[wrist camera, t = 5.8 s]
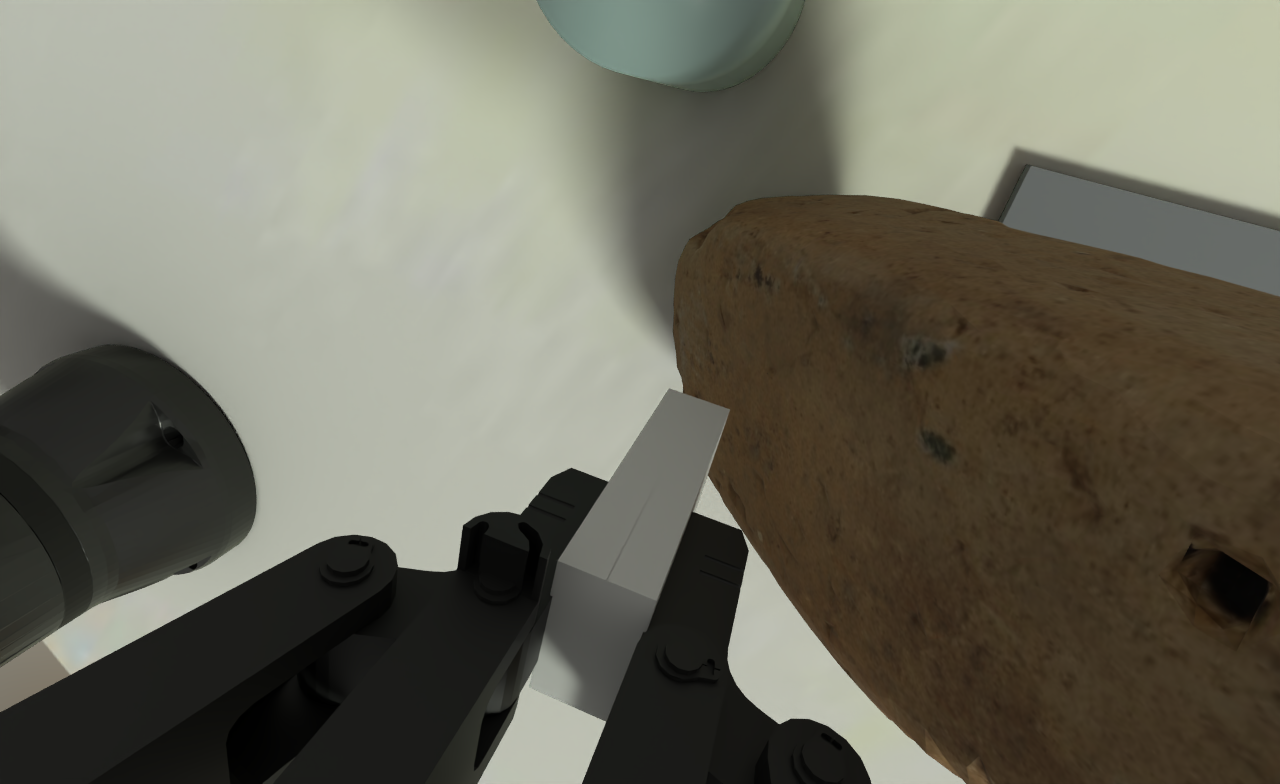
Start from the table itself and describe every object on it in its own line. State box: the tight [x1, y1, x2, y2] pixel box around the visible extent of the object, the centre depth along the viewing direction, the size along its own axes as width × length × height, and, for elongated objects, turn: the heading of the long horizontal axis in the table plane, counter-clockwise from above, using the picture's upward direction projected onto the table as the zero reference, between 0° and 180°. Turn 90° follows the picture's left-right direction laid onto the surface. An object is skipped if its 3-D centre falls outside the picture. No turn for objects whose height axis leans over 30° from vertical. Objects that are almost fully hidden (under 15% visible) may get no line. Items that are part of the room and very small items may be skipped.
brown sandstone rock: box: [673, 195, 1280, 784], centre depth 16 cm, size 11×8×20 cm
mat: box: [999, 165, 1280, 296], centre depth 23 cm, size 17×16×1 cm
